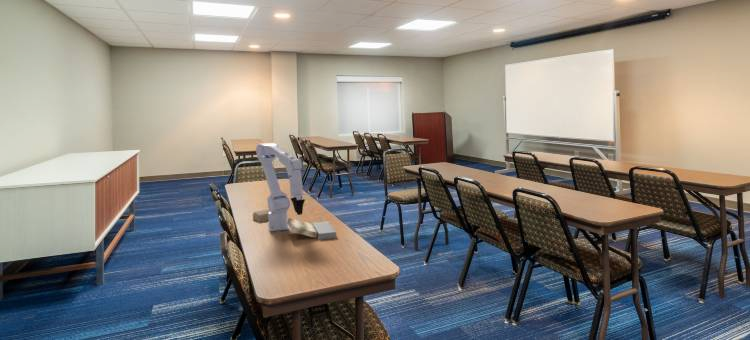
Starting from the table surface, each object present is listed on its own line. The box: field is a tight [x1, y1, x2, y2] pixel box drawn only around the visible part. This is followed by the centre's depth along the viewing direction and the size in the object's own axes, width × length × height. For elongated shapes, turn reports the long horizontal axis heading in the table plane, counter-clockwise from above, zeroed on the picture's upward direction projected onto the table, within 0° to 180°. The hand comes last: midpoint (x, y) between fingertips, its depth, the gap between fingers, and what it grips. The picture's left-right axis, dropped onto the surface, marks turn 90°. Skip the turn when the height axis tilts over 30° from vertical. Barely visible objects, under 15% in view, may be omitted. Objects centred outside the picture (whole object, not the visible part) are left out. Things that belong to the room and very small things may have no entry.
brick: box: [252, 209, 271, 223], centre depth 237 cm, size 17×8×5 cm, turn 132°
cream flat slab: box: [287, 217, 317, 239], centre depth 204 cm, size 12×16×2 cm
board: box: [311, 220, 337, 240], centre depth 207 cm, size 8×20×3 cm, turn 17°
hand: (298, 213), depth 202 cm, fingers open, 7 cm apart
